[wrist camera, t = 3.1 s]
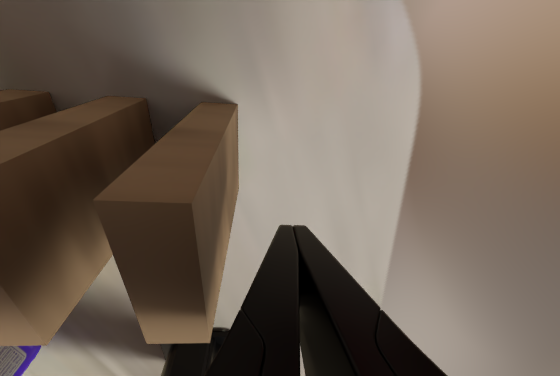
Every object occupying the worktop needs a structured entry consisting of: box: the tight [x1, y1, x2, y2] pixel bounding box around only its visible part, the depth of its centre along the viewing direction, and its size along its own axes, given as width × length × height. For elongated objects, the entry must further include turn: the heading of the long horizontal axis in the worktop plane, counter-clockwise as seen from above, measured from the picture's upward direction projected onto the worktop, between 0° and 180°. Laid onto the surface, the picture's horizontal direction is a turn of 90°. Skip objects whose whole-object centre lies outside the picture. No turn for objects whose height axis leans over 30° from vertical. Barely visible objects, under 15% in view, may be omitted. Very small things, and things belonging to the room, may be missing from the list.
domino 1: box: [0, 96, 155, 346], centre depth 9 cm, size 5×2×9 cm, turn 176°
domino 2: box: [93, 102, 239, 344], centre depth 10 cm, size 5×2×9 cm, turn 176°
